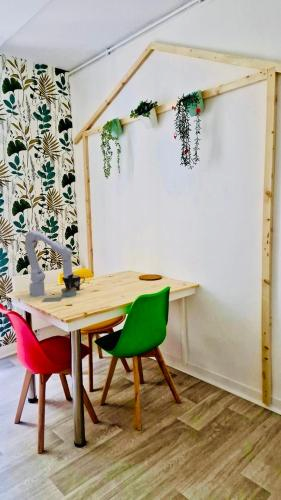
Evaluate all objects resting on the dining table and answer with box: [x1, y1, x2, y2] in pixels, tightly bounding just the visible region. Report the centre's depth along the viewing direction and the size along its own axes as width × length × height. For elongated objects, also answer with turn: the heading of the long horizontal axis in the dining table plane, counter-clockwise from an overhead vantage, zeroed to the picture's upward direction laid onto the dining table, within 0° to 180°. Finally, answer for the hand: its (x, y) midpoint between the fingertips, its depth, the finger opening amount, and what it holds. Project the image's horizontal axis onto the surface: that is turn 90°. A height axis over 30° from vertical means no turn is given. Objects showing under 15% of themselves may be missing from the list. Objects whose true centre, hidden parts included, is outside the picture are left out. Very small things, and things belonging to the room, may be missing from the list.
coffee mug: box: [71, 274, 85, 292], centre depth 240 cm, size 12×9×10 cm
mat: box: [41, 296, 64, 303], centre depth 215 cm, size 12×10×1 cm
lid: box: [60, 283, 77, 293], centre depth 225 cm, size 10×10×5 cm
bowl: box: [61, 291, 77, 298], centre depth 225 cm, size 9×9×4 cm
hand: (68, 286), depth 225 cm, fingers open, 7 cm apart
